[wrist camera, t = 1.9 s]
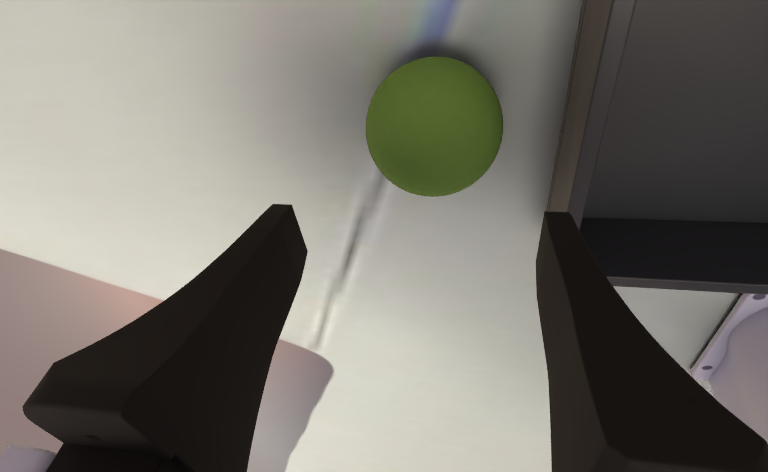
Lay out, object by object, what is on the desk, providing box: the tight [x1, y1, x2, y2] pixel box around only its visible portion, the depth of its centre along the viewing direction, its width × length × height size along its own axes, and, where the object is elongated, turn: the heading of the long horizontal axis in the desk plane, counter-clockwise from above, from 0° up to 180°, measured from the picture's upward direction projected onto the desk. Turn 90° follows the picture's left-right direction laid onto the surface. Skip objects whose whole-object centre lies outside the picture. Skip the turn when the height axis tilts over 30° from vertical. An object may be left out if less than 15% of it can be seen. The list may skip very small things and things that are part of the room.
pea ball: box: [366, 57, 503, 197], centre depth 17 cm, size 5×5×5 cm
